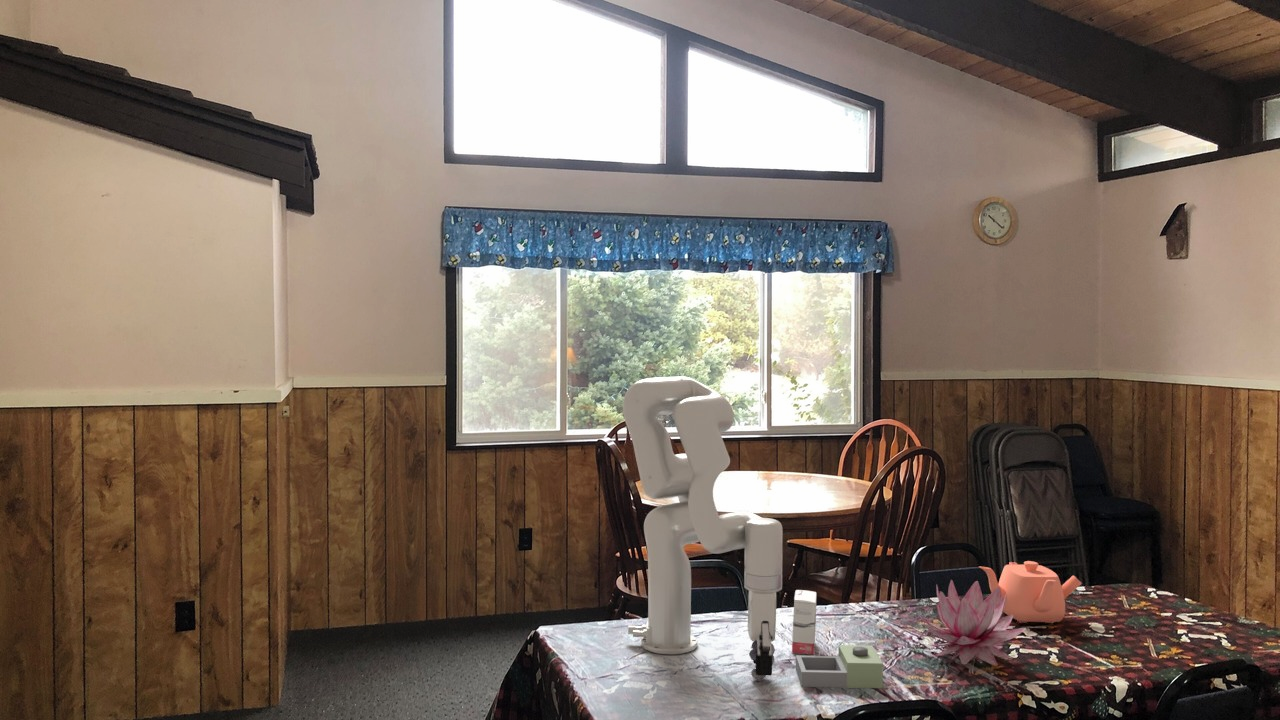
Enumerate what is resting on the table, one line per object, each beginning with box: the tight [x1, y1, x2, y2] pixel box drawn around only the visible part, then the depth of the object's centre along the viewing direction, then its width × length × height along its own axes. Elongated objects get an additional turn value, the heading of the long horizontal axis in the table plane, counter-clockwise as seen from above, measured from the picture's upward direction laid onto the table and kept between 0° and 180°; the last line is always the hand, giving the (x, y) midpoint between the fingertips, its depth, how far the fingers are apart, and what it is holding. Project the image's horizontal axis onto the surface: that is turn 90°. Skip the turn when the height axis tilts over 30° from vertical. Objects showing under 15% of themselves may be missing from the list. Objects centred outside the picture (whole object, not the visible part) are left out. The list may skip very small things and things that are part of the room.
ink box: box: [791, 589, 817, 656], centre depth 206 cm, size 9×5×12 cm, turn 168°
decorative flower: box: [916, 579, 1027, 666], centre depth 201 cm, size 21×21×15 cm
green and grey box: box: [795, 644, 884, 689], centre depth 189 cm, size 16×10×6 cm, turn 88°
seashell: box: [748, 637, 776, 682], centre depth 188 cm, size 5×5×10 cm
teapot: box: [978, 560, 1083, 624], centre depth 227 cm, size 18×18×14 cm
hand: (762, 668), depth 188 cm, fingers closed on seashell, 5 cm apart
